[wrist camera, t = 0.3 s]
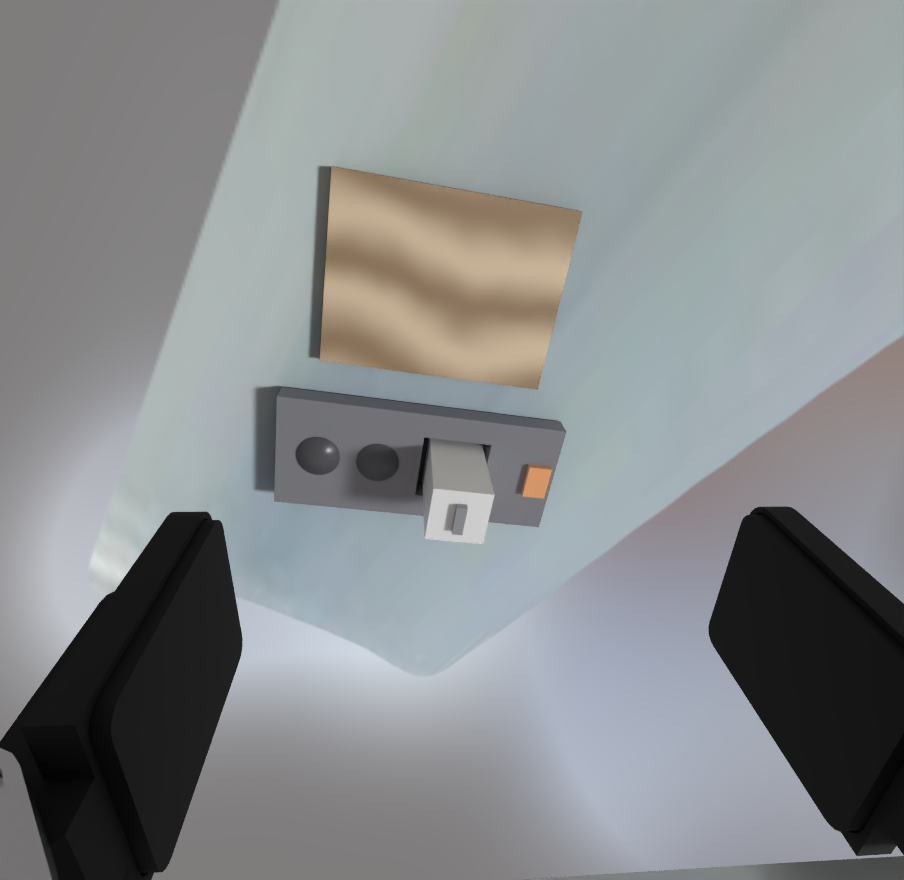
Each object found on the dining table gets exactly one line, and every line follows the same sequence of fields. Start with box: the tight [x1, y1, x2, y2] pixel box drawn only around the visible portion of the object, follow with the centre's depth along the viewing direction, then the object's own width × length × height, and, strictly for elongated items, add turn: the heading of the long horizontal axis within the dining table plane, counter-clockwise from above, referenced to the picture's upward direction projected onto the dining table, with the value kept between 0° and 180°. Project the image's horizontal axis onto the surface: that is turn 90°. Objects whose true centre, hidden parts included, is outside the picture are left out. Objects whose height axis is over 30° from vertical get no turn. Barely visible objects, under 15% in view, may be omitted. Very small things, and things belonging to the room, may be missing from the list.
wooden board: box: [320, 166, 582, 389], centre depth 42 cm, size 14×18×1 cm
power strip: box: [274, 387, 566, 527], centre depth 48 cm, size 10×24×3 cm, turn 81°
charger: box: [422, 438, 495, 544], centre depth 45 cm, size 5×5×10 cm
